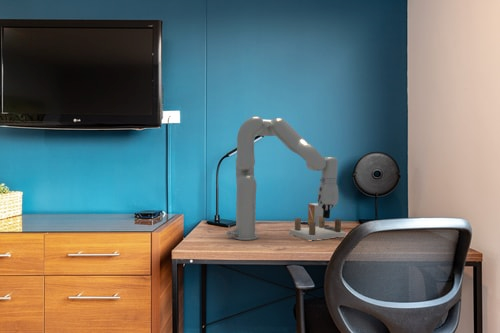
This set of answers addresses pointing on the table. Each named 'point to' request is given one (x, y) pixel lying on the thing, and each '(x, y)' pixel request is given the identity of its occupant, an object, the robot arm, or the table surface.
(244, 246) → the table surface
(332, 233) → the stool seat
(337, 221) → the grey and brown lever
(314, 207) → the small box
